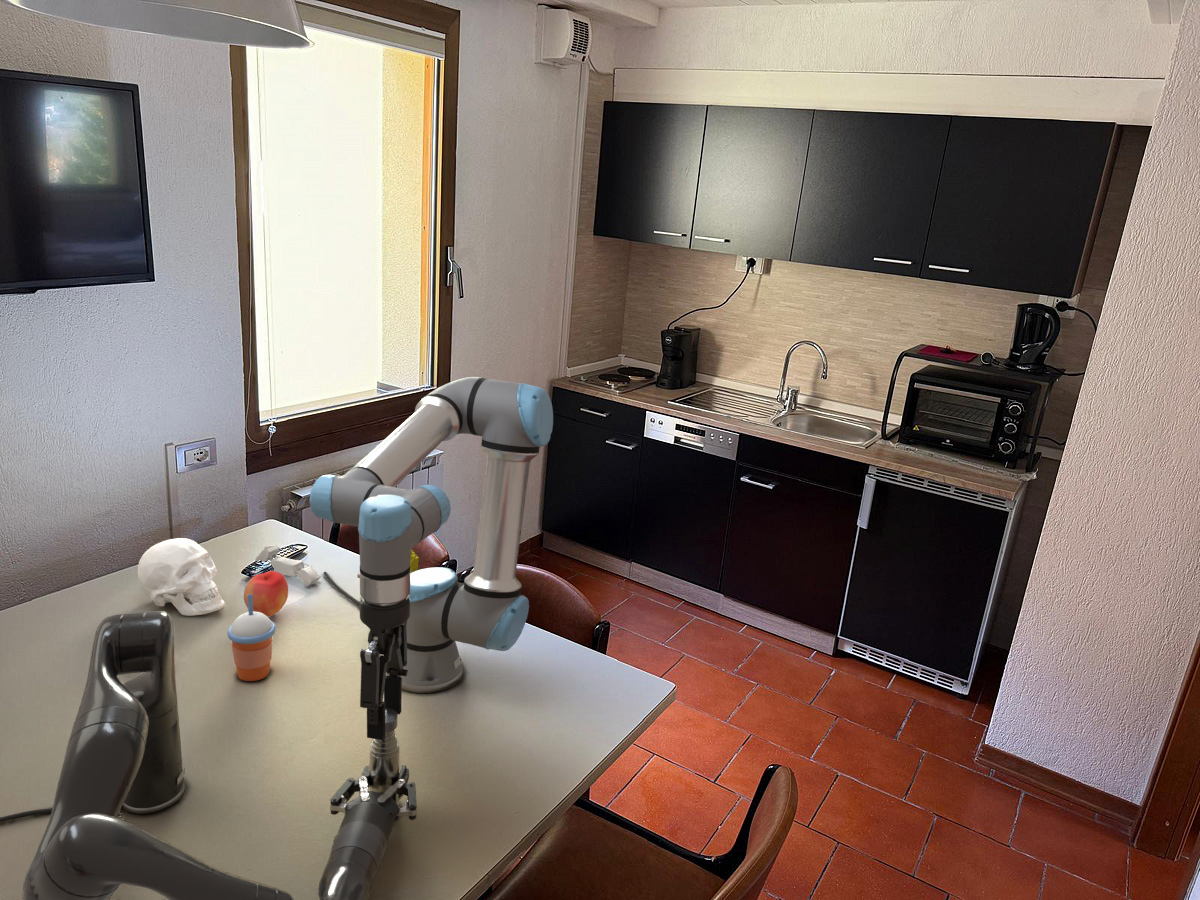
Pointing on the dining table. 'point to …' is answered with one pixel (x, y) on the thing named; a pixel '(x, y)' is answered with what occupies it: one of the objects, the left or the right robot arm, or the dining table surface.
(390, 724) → the cap
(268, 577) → the apple
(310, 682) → the dining table surface
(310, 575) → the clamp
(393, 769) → the bottle
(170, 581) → the skull
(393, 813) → the left robot arm
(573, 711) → the dining table surface
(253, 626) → the cup with straw
